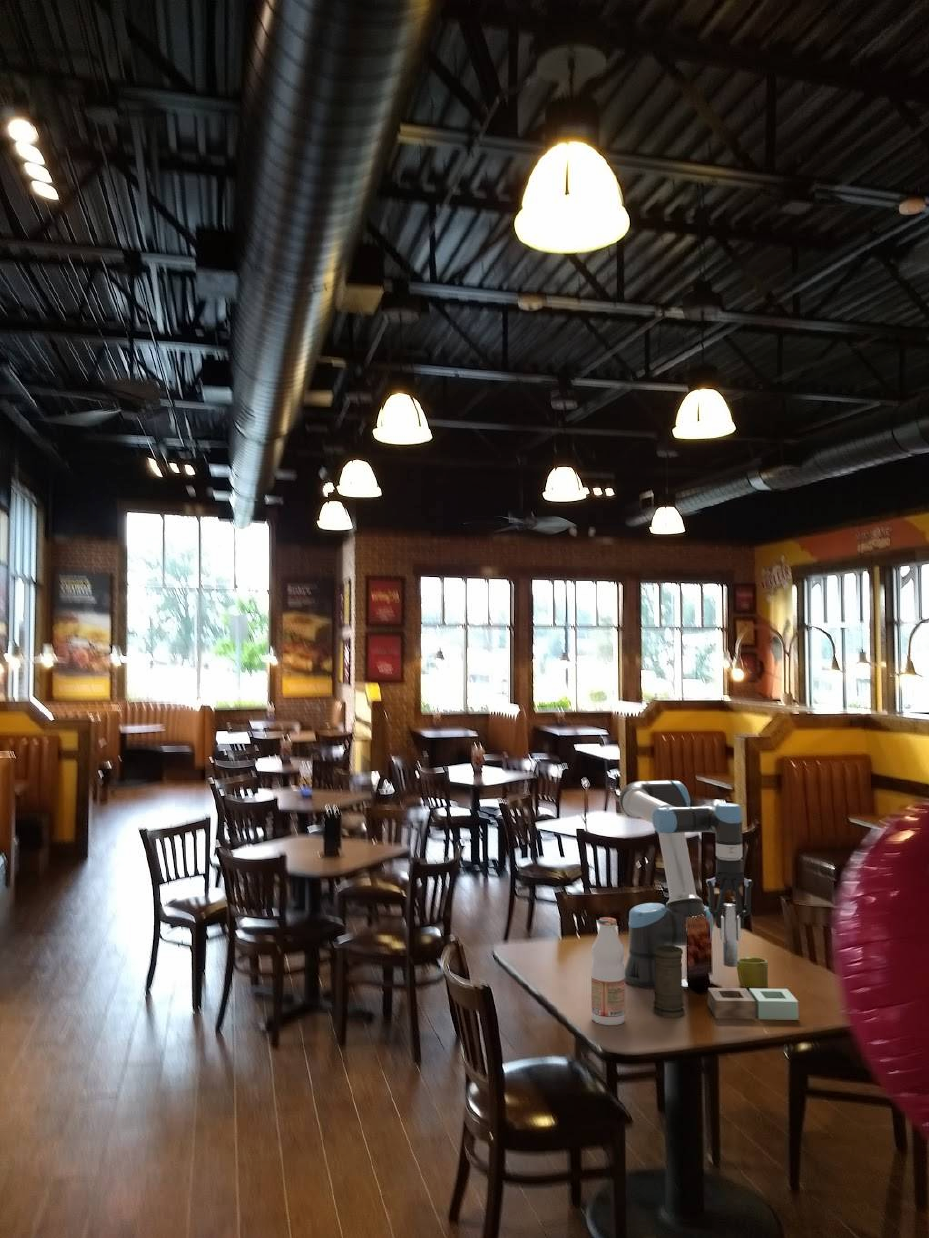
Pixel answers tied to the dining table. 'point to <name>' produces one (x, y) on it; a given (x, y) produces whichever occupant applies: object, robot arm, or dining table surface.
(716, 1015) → the block
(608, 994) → the fruit juice
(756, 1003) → the dock block
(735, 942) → the pin
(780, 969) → the dining table surface
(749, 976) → the mug
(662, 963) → the container
